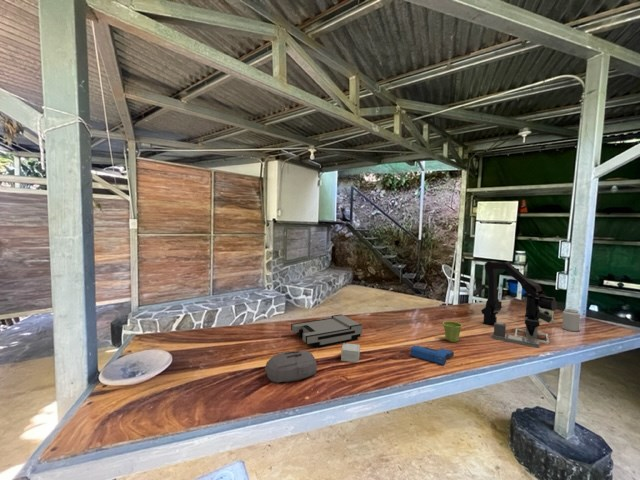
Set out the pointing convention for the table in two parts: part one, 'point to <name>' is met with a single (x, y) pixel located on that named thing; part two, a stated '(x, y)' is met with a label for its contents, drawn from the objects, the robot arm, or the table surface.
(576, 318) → the can
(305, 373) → the small grey backpack
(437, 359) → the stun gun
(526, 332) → the plug
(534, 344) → the strip
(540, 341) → the white square frame
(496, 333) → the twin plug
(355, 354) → the small box
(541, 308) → the green desk organizer
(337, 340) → the game console
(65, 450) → the table surface
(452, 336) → the plant pot
